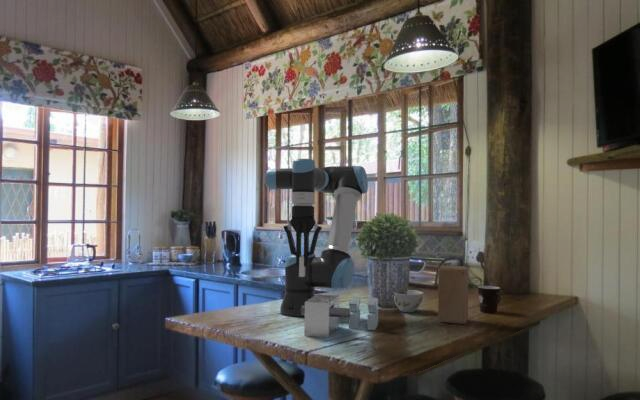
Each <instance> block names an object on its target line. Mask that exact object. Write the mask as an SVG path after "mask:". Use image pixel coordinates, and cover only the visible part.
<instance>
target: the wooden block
mask: <svg viewBox="0 0 640 400" xmlns="http://www.w3.org/2000/svg"><path fill="white" fill-rule="evenodd" d="M437 273H438V274H437V275H438V276H437V277H438V279H437V285H438V287H437V290H438V292H437V294H438V295H437V297H438V298H437V301H438V302H437V303H438V304H437V319H438V322H439V323H448V324H457V325H458V324H460V325H465V324H466V323H467V321H468V319H469V268H468V267H467V266H463V265H461V266H460V265H442V266H440V267H439V268H438V272H437Z"/></svg>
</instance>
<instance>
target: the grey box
mask: <svg viewBox="0 0 640 400" xmlns="http://www.w3.org/2000/svg"><path fill="white" fill-rule="evenodd" d="M331 307H335V308H340V295H336V294H320V293H317V294H315V296H313V297H312V298H310V299H309V300H307V301H305V316H304V330H303V331H304V337H318V338H319V337H320V338H330V337H331V336H332V335H333V334H334V332H336V330H337V329H338V328H339V326H340V317H331Z"/></svg>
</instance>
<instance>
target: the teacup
mask: <svg viewBox="0 0 640 400" xmlns="http://www.w3.org/2000/svg"><path fill="white" fill-rule="evenodd" d="M407 290H408V291H407V295H405V294H398V293H394V294H395V296H394V300H393V302H394V301H395V302H394V304H395V306H396V307H397V309H399V311H400V312H404V313H414V312H415V311H416V310H417V309H418V308H419V307H420V306H421V303H422V301H423V298H424V292H423V291H420V290H416V289H415V290H414V289H407Z"/></svg>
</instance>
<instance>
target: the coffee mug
mask: <svg viewBox="0 0 640 400" xmlns="http://www.w3.org/2000/svg"><path fill="white" fill-rule="evenodd" d="M500 289H501V288H500V287H499V286H493V285H478V286H477V293H478V302H479V312H481V313H483V314H497V312H498V306H499V304H500V302H501V294H500Z"/></svg>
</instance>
